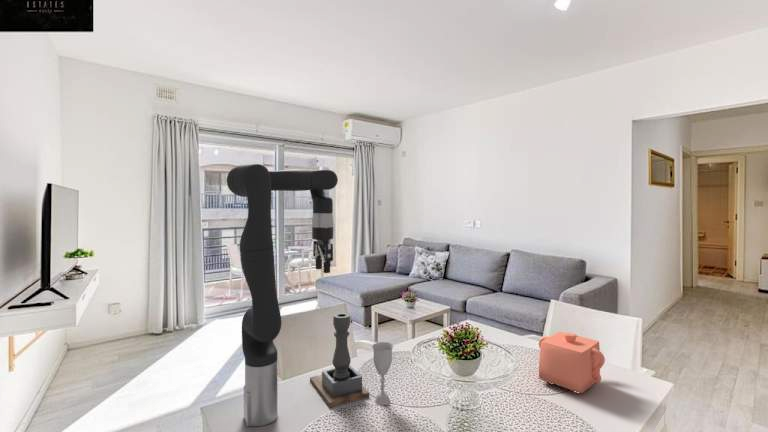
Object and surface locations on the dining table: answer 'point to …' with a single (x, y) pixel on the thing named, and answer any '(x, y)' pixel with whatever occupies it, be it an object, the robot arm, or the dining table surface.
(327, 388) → the collar
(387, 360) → the chalice
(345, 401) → the keeper plate
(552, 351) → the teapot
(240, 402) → the dining table surface
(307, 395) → the dining table surface
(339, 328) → the candle holder
